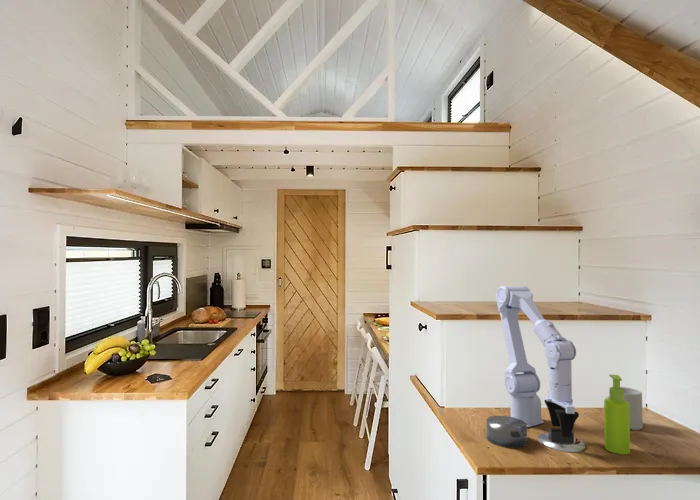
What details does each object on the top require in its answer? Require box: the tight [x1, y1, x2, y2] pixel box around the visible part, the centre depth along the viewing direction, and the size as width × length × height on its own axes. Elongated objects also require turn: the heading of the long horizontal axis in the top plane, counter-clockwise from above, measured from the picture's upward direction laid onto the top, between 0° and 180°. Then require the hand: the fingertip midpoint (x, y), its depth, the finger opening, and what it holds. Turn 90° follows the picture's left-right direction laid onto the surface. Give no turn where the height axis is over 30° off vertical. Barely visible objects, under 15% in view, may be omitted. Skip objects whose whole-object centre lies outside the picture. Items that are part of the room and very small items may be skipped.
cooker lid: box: [537, 427, 586, 453], centre depth 121 cm, size 12×12×4 cm
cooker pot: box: [486, 415, 528, 449], centre depth 123 cm, size 14×11×5 cm
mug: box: [605, 386, 644, 431], centre depth 135 cm, size 12×8×11 cm
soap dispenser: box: [603, 374, 631, 455], centre depth 118 cm, size 6×7×20 cm
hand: (561, 431), depth 121 cm, fingers open, 7 cm apart
